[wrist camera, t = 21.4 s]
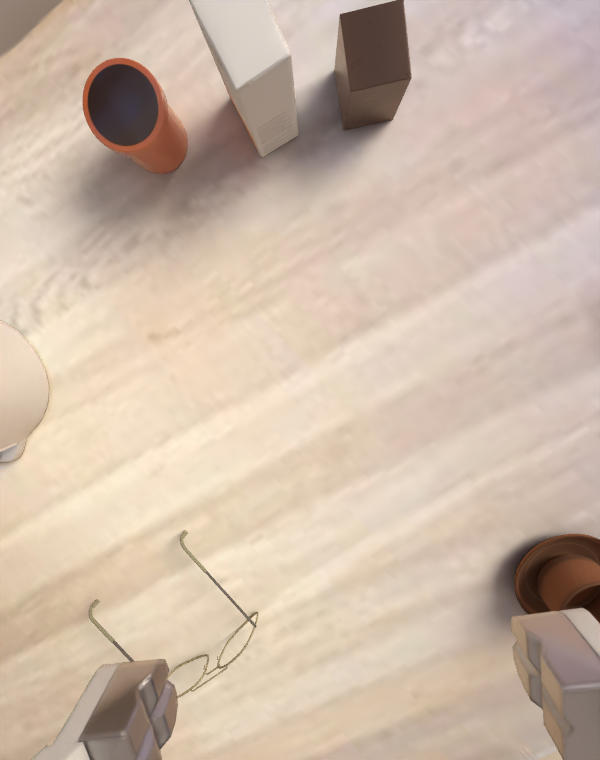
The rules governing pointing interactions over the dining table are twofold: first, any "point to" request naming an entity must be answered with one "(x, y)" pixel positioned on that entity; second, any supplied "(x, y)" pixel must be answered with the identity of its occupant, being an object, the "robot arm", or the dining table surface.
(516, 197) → the dining table surface
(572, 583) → the cup and saucer
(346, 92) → the walnut block
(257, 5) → the cosmetic box
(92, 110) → the flower pot
